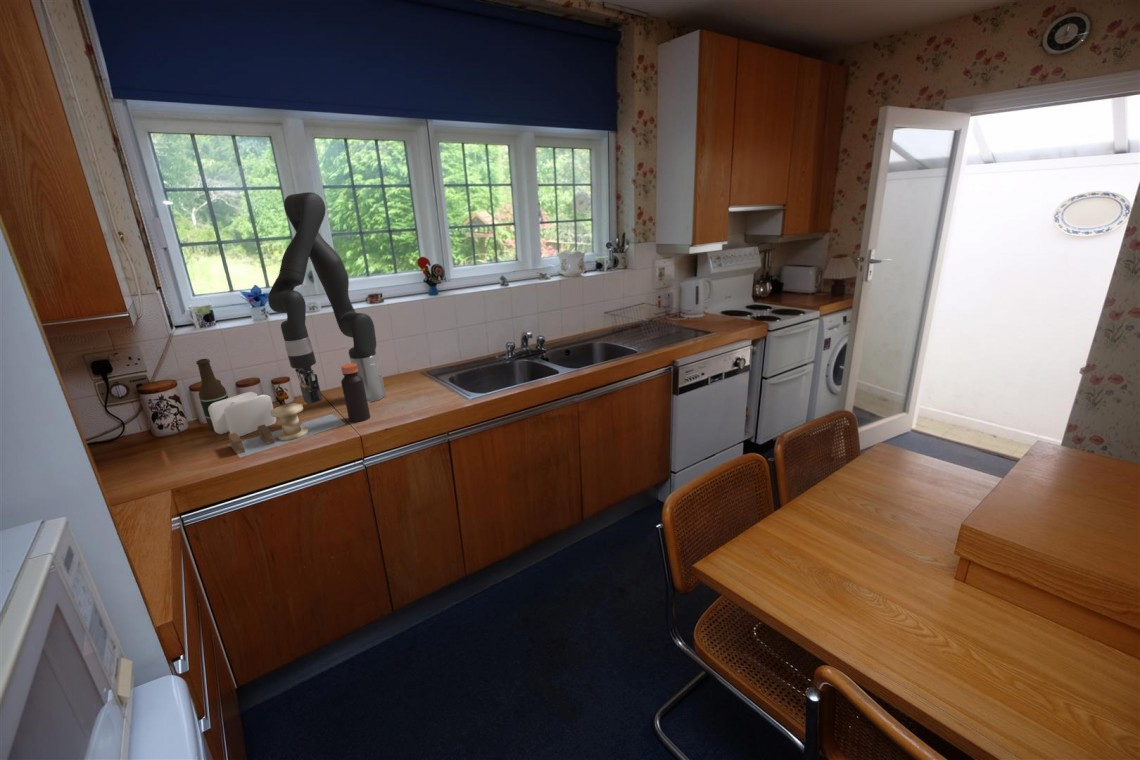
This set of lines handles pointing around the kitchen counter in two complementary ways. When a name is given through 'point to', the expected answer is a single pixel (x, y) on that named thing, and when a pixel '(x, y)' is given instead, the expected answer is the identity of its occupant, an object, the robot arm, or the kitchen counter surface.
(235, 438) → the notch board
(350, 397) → the vinegar
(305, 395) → the dark grey upright block
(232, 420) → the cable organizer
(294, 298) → the robot arm
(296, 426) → the bobbin
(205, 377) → the beer bottle
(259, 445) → the winding board
